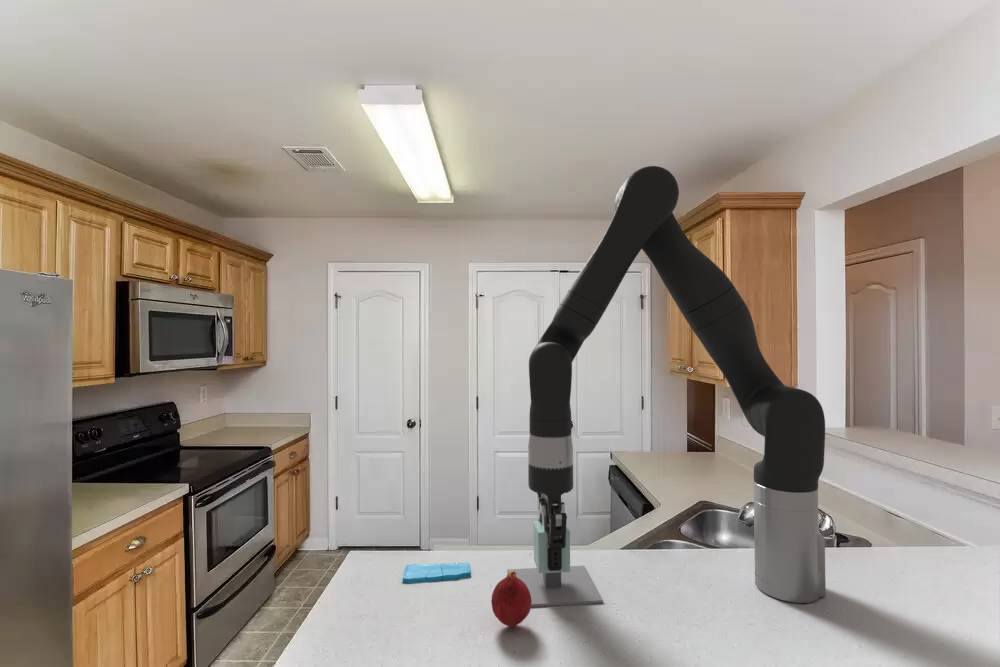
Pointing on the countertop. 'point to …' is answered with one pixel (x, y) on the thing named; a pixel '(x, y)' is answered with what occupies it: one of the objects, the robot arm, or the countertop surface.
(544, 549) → the mint green square prism
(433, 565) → the sponge
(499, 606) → the onion
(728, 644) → the countertop surface
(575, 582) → the mat
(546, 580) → the post
